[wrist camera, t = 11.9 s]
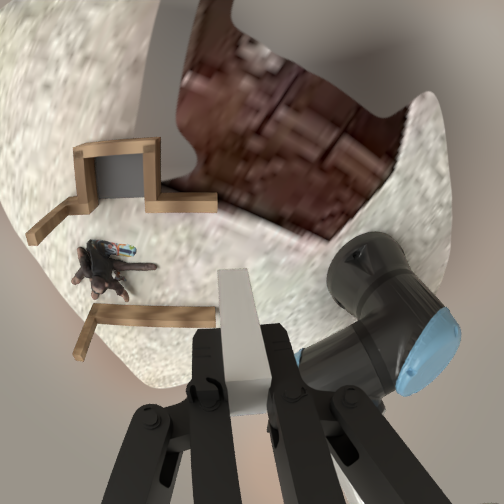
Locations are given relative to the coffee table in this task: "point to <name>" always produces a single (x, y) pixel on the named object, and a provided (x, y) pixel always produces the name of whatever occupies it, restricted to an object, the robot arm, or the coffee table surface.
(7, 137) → the coffee table surface
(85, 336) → the wooden rail pieces
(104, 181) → the mat
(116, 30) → the coffee table surface
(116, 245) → the stuffed animal
